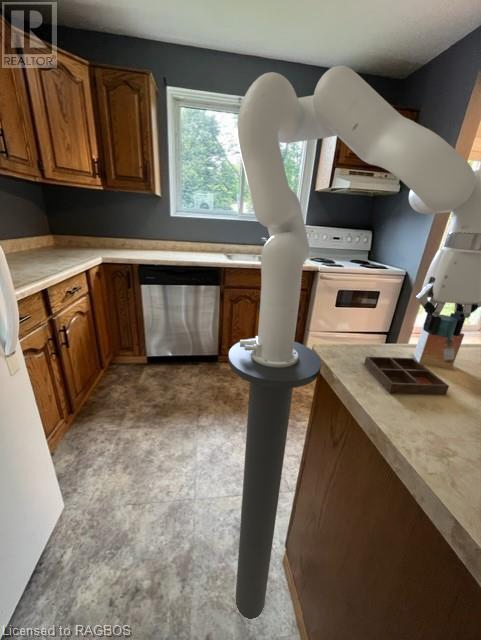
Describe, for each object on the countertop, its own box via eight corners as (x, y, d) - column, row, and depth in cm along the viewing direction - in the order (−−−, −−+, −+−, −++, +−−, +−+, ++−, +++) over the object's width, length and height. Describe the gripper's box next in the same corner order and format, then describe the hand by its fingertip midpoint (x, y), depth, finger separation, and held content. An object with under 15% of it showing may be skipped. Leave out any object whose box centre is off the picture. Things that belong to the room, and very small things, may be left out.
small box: (418, 364, 75) (429, 329, 71) (413, 355, 80) (423, 322, 76) (452, 370, 72) (465, 334, 69) (444, 360, 78) (456, 326, 74)
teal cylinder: (437, 337, 55) (442, 320, 54) (424, 329, 59) (428, 313, 58) (457, 338, 55) (463, 321, 54) (443, 330, 59) (448, 314, 58)
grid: (389, 393, 61) (392, 384, 60) (364, 364, 73) (365, 356, 72) (445, 395, 61) (449, 385, 60) (411, 366, 74) (413, 358, 73)
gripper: (495, 243, 55) (465, 327, 61) (413, 240, 54) (391, 325, 61) (533, 247, 48) (495, 341, 54) (439, 243, 47) (412, 338, 54)
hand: (440, 332), depth 57 cm, fingers closed on teal cylinder, 4 cm apart
